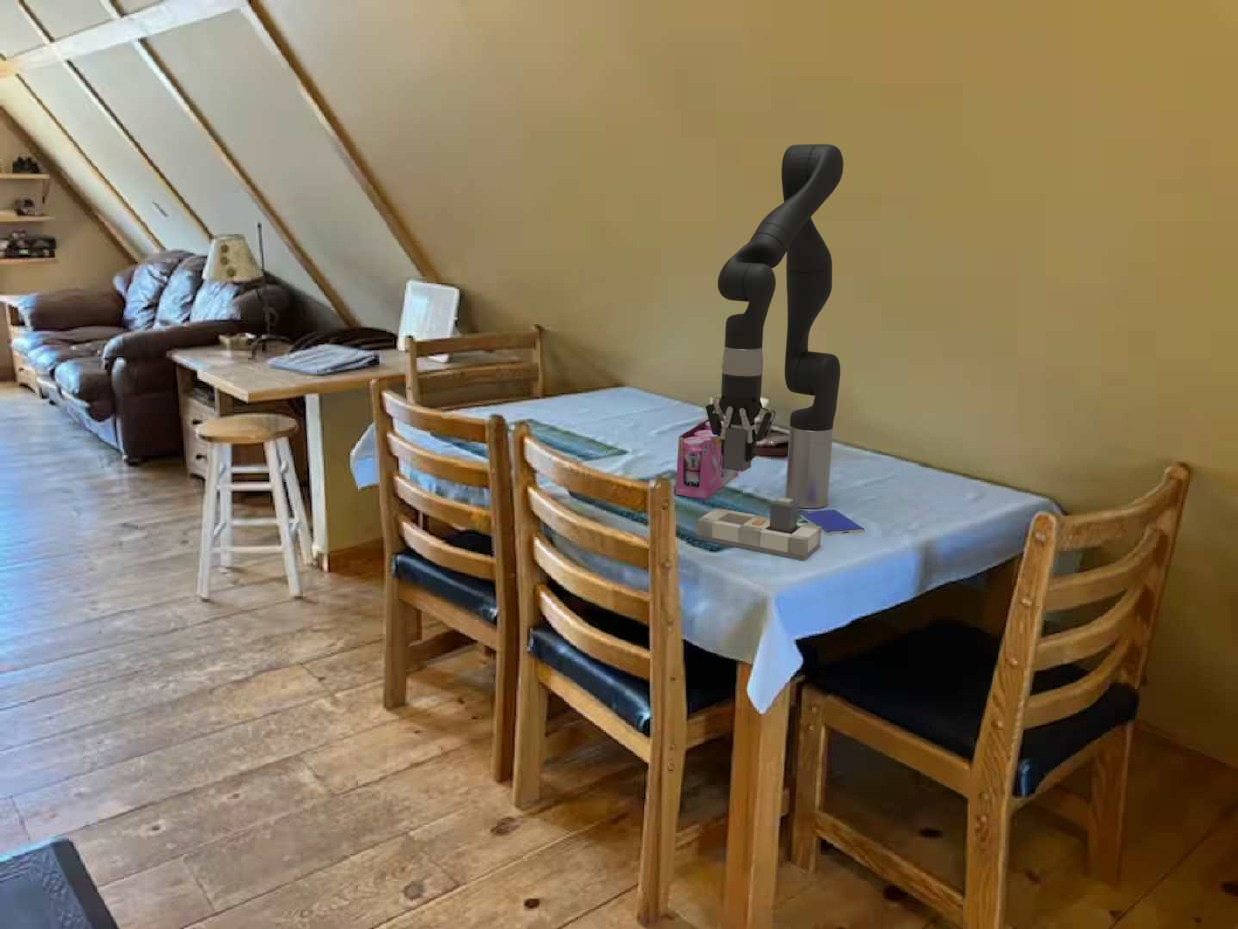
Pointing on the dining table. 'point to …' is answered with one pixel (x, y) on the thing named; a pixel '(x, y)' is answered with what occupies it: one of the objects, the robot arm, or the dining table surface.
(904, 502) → the dining table surface
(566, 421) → the dining table surface
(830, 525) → the hard drive
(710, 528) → the strip
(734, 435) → the plug
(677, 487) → the gum box
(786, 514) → the twin plug
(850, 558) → the dining table surface
